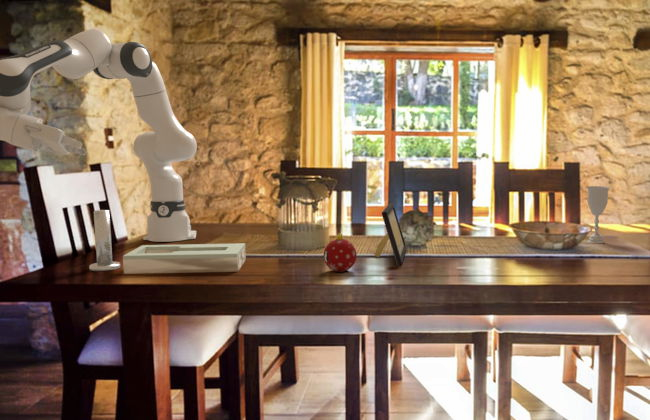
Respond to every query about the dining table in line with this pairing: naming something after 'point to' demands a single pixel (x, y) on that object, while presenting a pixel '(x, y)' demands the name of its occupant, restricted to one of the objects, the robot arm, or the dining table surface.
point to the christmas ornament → (340, 254)
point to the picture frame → (392, 235)
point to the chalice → (597, 208)
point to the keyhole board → (185, 258)
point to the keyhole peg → (103, 242)
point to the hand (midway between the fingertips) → (83, 149)
